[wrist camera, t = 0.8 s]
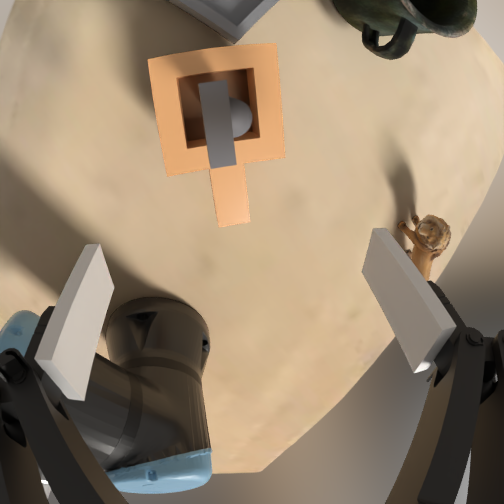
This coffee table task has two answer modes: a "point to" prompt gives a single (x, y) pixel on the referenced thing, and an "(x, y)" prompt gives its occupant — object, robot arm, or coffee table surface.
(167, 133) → the orange square frame paddle
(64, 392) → the robot arm
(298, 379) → the coffee table surface
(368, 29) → the mug
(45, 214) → the coffee table surface
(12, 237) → the coffee table surface
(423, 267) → the lion figurine
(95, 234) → the coffee table surface
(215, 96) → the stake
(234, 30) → the tray
